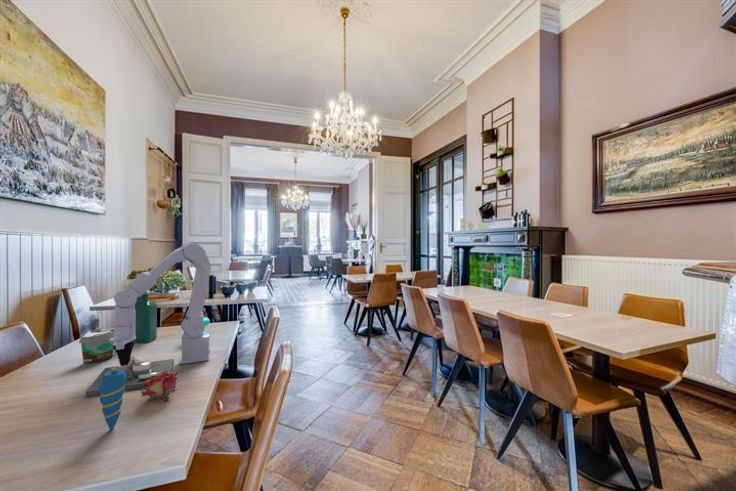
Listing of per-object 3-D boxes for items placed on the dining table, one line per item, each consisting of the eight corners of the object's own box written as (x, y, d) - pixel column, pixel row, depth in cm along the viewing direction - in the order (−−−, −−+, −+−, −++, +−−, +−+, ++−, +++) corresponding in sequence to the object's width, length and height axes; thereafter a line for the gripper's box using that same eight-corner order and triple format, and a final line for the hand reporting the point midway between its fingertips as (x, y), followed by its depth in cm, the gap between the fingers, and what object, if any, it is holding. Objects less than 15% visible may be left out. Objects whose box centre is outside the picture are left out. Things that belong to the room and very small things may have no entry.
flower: (191, 390, 93) (183, 364, 95) (162, 397, 84) (154, 368, 87) (166, 405, 94) (159, 380, 97) (136, 414, 86) (129, 386, 88)
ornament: (108, 423, 78) (109, 361, 78) (131, 422, 79) (131, 361, 79) (92, 436, 73) (93, 370, 73) (116, 435, 73) (117, 369, 73)
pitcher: (138, 338, 149) (139, 290, 149) (158, 337, 150) (158, 290, 150) (125, 344, 139) (125, 293, 139) (146, 344, 140) (146, 293, 140)
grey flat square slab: (173, 363, 118) (173, 354, 118) (167, 384, 100) (168, 374, 100) (105, 372, 109) (105, 363, 109) (85, 397, 91) (85, 386, 91)
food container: (92, 366, 114) (92, 338, 114) (78, 365, 116) (79, 337, 116) (125, 355, 126) (125, 329, 126) (112, 353, 128) (112, 328, 128)
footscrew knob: (153, 372, 105) (153, 363, 105) (135, 377, 101) (135, 367, 101) (139, 362, 114) (139, 354, 114) (122, 366, 110) (122, 358, 110)
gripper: (115, 321, 114) (115, 359, 114) (103, 331, 101) (103, 374, 101) (139, 319, 117) (139, 356, 117) (131, 328, 104) (131, 370, 104)
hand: (124, 364), depth 109 cm, fingers closed
